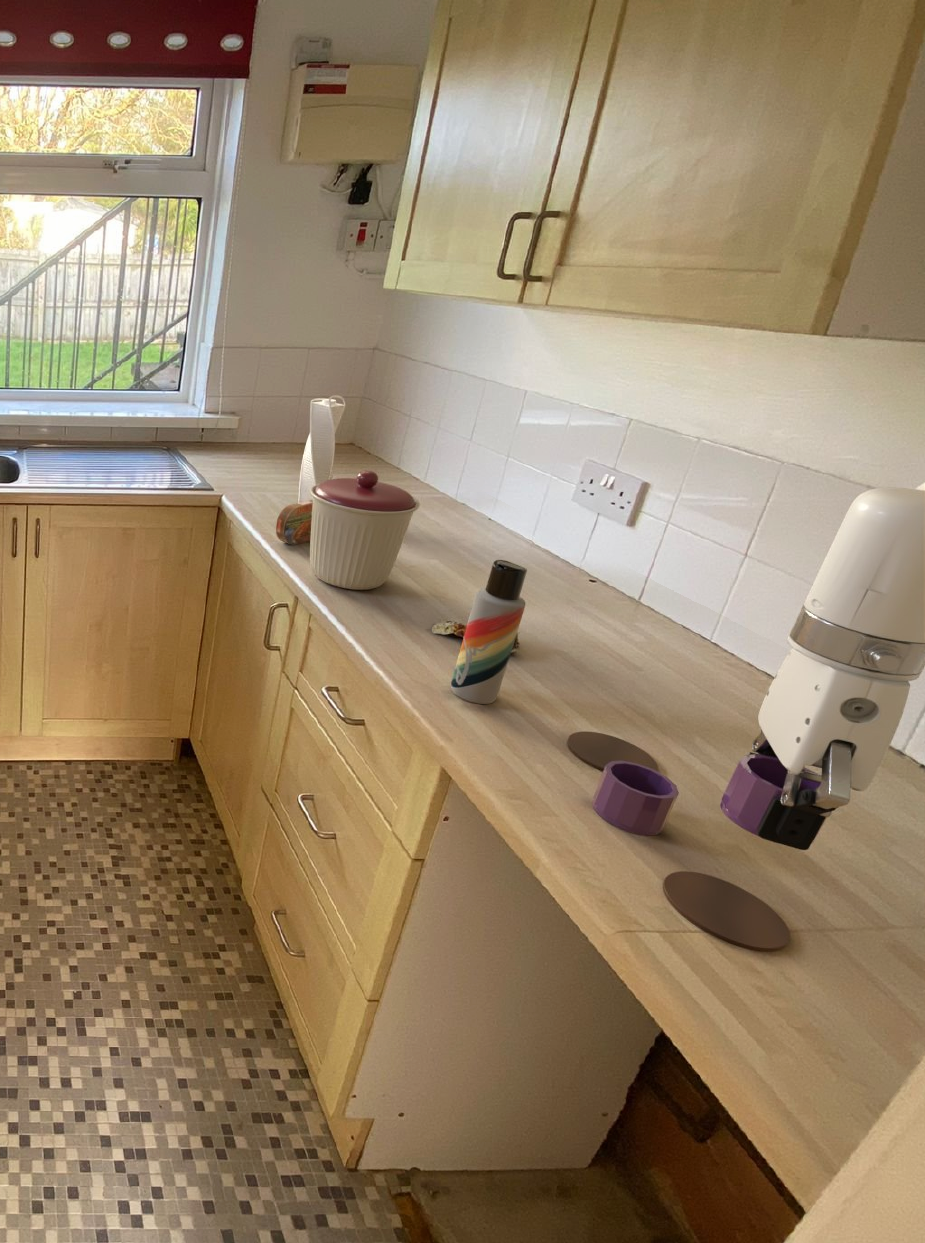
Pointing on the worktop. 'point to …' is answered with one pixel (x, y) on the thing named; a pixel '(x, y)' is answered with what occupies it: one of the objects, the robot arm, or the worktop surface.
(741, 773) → the ramekin
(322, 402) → the skyscraper
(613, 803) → the ramekin
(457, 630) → the pastry
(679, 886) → the coaster front
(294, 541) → the tin
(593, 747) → the coaster back
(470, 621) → the lotion bottle
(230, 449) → the worktop surface
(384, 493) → the canister
